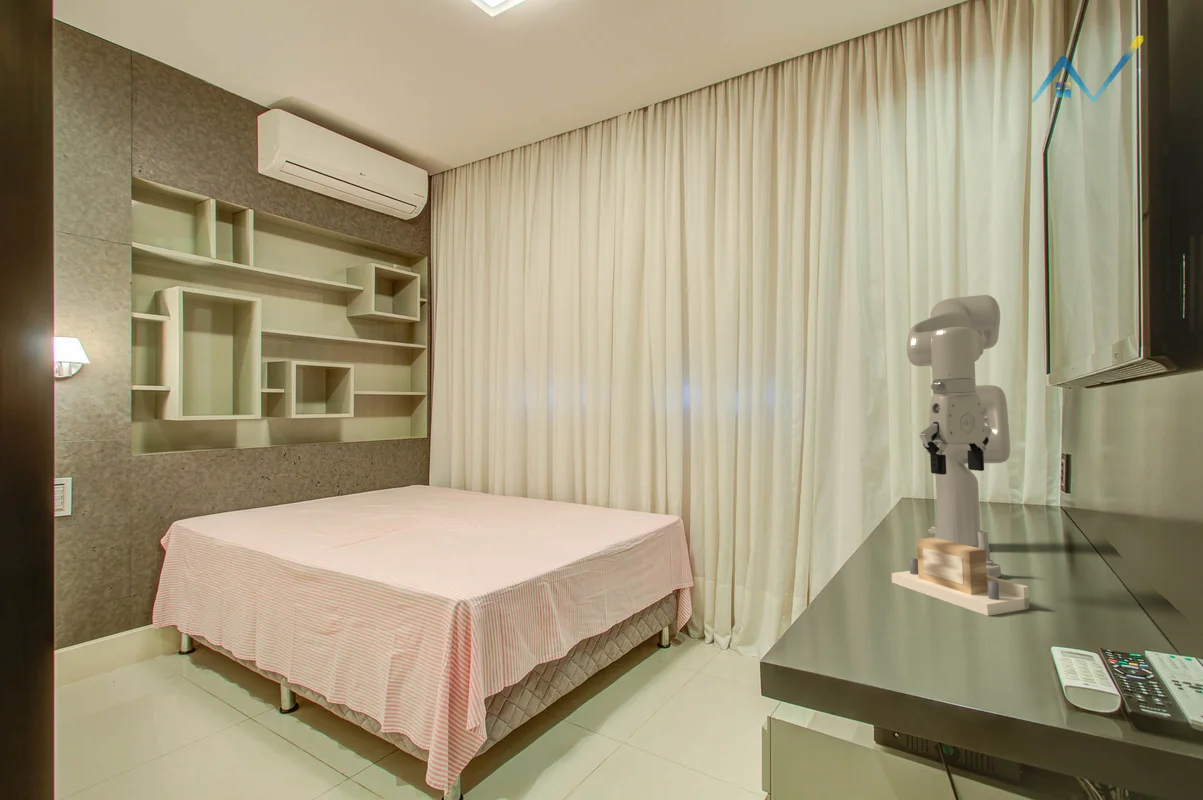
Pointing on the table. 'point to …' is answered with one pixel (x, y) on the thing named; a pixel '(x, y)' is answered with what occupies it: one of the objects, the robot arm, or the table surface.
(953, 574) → the tan wooden block
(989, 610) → the ledge
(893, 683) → the table surface
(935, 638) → the table surface
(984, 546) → the electronic device
